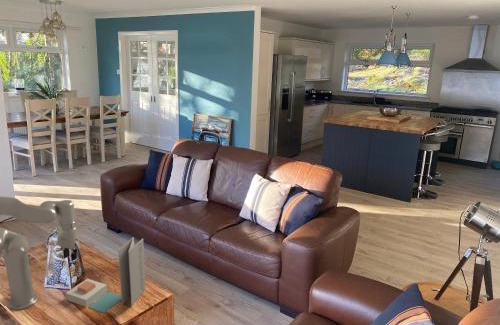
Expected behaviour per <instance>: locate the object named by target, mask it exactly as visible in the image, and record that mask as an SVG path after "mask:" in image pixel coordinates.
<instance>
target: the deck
mask: <svg viewBox="0 0 500 325" xmlns="http://www.w3.org/2000/svg"><path fill="white" fill-rule="evenodd" d="M85 281H88V282H92V283H95V284H96V287H95V288H94V289H92V290H91V291H90V292H88V293H87V294H86V293H84V292H81V291H78V290H77V287H78V286H80V285H81V284H83V283H84V282H85ZM107 292H108V285H107V284H106V283H102V282H100V281H96V280H93V279H89V278H86V279H85V280H84V281H82V282H80V283H79V284H77V285H76V286H74V287H72V288H71V289H70V290H68V291H67V292H65V300H66V301H69V302H72V303H74V304H77V305H80V306H83V307H85V308H88V307H89V306H90V305H92V304H93V303H94V302H96V301H97V300H98V299H99V298H101V297H102V296H103V295H105V294H106V293H107Z"/></svg>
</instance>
